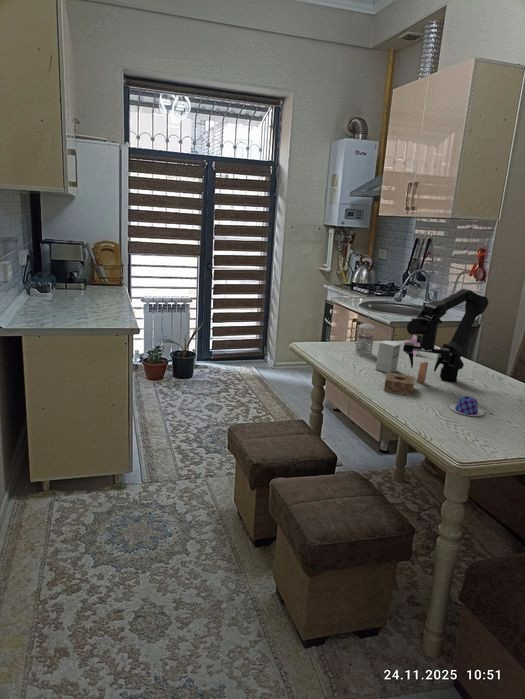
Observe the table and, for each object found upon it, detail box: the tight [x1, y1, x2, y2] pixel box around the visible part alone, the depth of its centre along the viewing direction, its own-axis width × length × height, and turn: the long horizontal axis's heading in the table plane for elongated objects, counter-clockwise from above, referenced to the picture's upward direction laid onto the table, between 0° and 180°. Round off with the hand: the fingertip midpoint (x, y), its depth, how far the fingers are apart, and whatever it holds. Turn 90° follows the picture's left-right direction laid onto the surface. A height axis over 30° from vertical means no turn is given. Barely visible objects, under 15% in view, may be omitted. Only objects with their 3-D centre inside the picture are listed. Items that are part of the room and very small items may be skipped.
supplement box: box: [375, 340, 402, 374], centre depth 240 cm, size 7×7×13 cm
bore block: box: [383, 372, 415, 396], centre depth 216 cm, size 11×11×4 cm
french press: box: [351, 304, 376, 358], centre depth 262 cm, size 10×12×25 cm
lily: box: [402, 335, 420, 357], centre depth 274 cm, size 12×12×10 cm
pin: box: [416, 360, 429, 385], centre depth 227 cm, size 3×3×9 cm
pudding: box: [449, 395, 484, 417], centre depth 198 cm, size 12×12×5 cm
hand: (423, 369), depth 226 cm, fingers open, 9 cm apart
